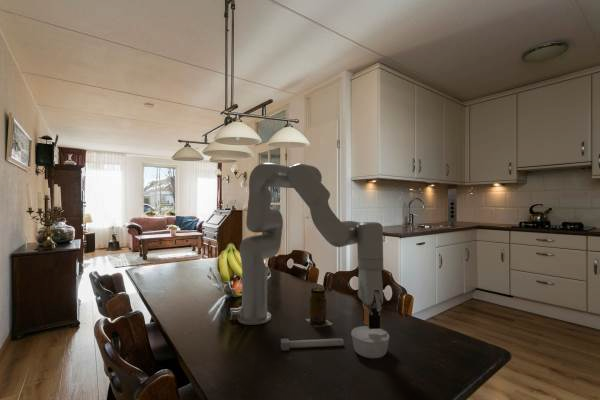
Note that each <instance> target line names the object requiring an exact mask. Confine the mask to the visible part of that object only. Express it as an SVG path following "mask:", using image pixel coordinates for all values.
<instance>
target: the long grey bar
mask: <svg viewBox="0 0 600 400" xmlns="http://www.w3.org/2000/svg"><path fill="white" fill-rule="evenodd" d="M344 344H345V343H344V339H343V338H327V339H326V338H324V339H323V338H321V339H300V340H290V339H289V338H280V350H281V351H290V349H297V348H299V349H300V348H315V347H316V348H317V347H318V348H319V347H321V348H322V347H341V346H343V345H344Z"/></svg>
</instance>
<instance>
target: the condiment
mask: <svg viewBox="0 0 600 400" xmlns="http://www.w3.org/2000/svg"><path fill="white" fill-rule="evenodd" d="M310 292H311V293H310V297H309V318H305V319H304V320H305V321H306V322H307V323H309V324H311V325H312V326H313V327H315V328H321V327H327V326H331V325H333V323H332V322H330V321H329V320H327V296H326V289H325V288H323V287H313V288H311V290H310Z"/></svg>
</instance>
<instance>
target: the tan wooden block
mask: <svg viewBox="0 0 600 400" xmlns="http://www.w3.org/2000/svg"><path fill="white" fill-rule="evenodd" d="M373 308H375V306H372V310H373ZM369 314H370V310H369V305H366V304H364V321H363V323H364V325H367V326H368V328H369ZM369 329H370V328H369Z"/></svg>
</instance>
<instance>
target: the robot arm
mask: <svg viewBox="0 0 600 400" xmlns="http://www.w3.org/2000/svg"><path fill="white" fill-rule="evenodd" d="M322 178H323V177H322V173H321V171H320V170H319V169H318V168H317V167H315V166H313V165H311V164H305V163H296V164H294V165H292V166H291V165H290V166H289V165H285V164H284V165H283V164H279V163H275V162H274V163H273V162H262V163H260V164H258V165H256V166H255V167H254V168H252V171H250V175H249V179H248V201H247V211H246V219H245V220H246V222H245V224H246V225H245V226H246V228H247V229H248V231H249V232H250V233H261V234H257V235H249V236H247V237H245V238H244V239H243V240H242V241H241V242H240V244H239V249H238V250H239V257H240V261H241V306H239V307H237V308H236V307H230V308H229V309H230V310H229V314H232V315H233V316H237V321H238V323H240V324H241V325H242V324H243V325H248V326H256V325H262V324H266V323H268V322H269V321H271V320H272V314H271V312H269V311H268V269H267V266H266V264H265V261H264V260H265V259H271V258H274V257H275V256H276V255H277V254H278V253H279V251H280V249H281V243H282V234H283V227H284V223H283V222H284V219H283V215H282V212H281V211H280V210H278V209H277V208H275V207H271V203H272V195H271V190H270V188H271V187H272V188H273V187H274V188H284V189H285V188H286V189H294V191H296V193H297V195H299V197H300V198H301V199H302V201H303V202H304V203H305V204H306V206H307V207H308V208H309V212H310V216H311V220H312V223H313V225H314V226H315V228H316V229H317V231H318V232H319V233H320V234H321V236H322V237H323V238H324V239H325V241H327V243H329V244H330V246H331V245H332V246H333V247H336V248H342V247H347V246H350V245H355V244H357V245H356V247H357V270H358V278H357V280H358V281H357V282H358V283H357V296H358V298H359V299H360V300H361V301H362V307H363V308H362V316H363V317H362V320H363V322H364V304H366V305H369V310H370V314H369V328H370V329H379V328H380V329H381V310H382V304H383V302H384V290H383V289H384V287H383V286H384V284H383V275H382V270H384V235H383V234H384V233H383V232H384V231H383V230H384V228H383V224H382V223H380V222H375V221H369V222H368V221H364V222H360V221H353V220H343V221H341V219H339V218H338V216H337V215H336V214H335V213H334V212H333V210H332V208H331V207H330V205H329V204H330V203H329V199H330V198H331V193H330V191H329V189H327V187H326V186H325V185H324V184H323V183H322ZM372 306H375V308H373V310H372Z"/></svg>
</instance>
